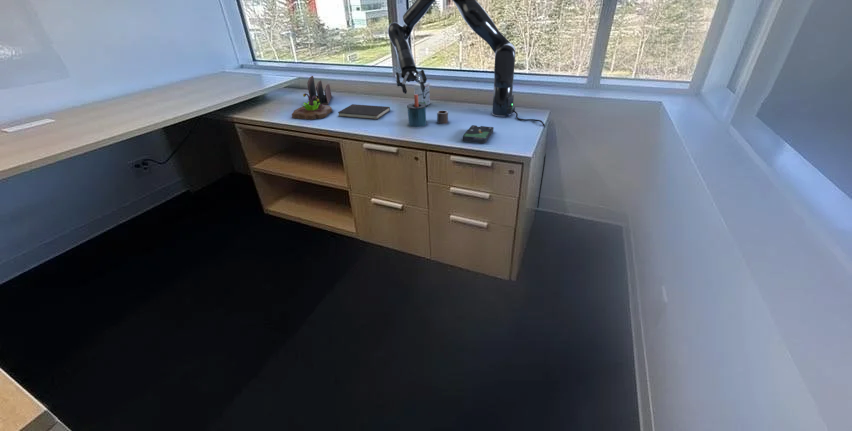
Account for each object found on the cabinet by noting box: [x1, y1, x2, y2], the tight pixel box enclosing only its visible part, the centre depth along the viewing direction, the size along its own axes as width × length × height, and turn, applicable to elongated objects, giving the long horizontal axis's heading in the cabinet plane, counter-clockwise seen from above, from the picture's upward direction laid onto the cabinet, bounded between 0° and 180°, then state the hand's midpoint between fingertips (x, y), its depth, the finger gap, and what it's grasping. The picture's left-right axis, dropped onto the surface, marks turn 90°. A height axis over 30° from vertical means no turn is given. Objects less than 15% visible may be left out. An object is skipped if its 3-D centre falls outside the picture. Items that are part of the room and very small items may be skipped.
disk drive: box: [461, 124, 495, 144], centre depth 166 cm, size 10×3×15 cm
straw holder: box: [436, 110, 449, 125], centre depth 183 cm, size 5×5×6 cm
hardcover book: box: [337, 103, 391, 121], centre depth 203 cm, size 16×23×2 cm
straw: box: [413, 93, 419, 107], centre depth 180 cm, size 2×2×14 cm
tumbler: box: [407, 105, 427, 128], centre depth 182 cm, size 9×9×9 cm
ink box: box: [413, 81, 431, 106], centre depth 209 cm, size 9×5×12 cm, turn 147°
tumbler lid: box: [406, 102, 427, 109], centre depth 179 cm, size 9×9×1 cm
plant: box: [291, 93, 333, 121], centre depth 203 cm, size 20×20×11 cm
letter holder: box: [307, 75, 333, 106], centre depth 224 cm, size 10×20×14 cm, turn 6°
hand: (414, 91), depth 177 cm, fingers open, 8 cm apart
